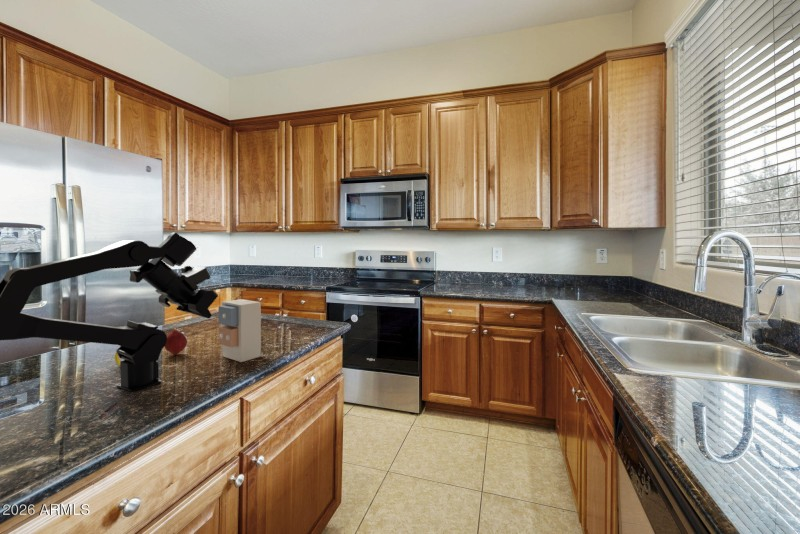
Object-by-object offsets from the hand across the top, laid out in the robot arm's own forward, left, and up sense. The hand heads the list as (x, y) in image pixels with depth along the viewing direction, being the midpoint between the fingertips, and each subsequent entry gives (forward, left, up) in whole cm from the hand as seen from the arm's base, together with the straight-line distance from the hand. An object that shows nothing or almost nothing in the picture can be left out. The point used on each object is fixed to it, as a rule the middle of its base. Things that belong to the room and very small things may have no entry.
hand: (209, 316), depth 99 cm
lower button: (+6, 0, -9) cm, 10 cm away
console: (+10, -1, -14) cm, 17 cm away
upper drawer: (+6, 0, -3) cm, 6 cm away
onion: (+1, +17, -14) cm, 22 cm away
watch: (-11, +18, -14) cm, 25 cm away
